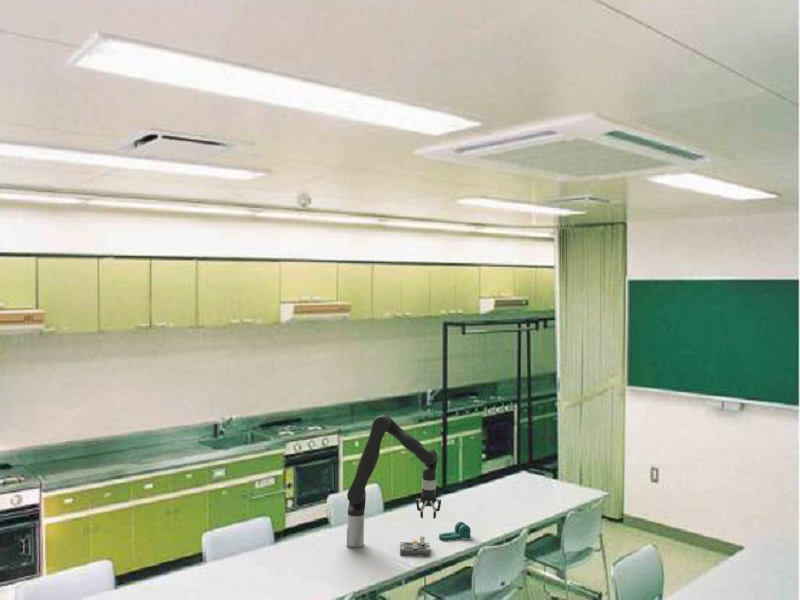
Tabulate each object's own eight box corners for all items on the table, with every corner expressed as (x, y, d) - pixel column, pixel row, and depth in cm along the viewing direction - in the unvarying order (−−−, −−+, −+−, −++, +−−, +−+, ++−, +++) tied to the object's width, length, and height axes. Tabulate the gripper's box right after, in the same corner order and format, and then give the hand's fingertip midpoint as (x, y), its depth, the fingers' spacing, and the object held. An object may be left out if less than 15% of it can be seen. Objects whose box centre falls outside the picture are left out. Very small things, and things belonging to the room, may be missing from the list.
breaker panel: (400, 555, 370) (400, 549, 370) (400, 547, 381) (400, 541, 381) (429, 556, 370) (430, 550, 370) (429, 548, 381) (429, 542, 381)
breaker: (420, 544, 377) (420, 537, 377) (419, 542, 380) (420, 535, 380) (424, 544, 377) (424, 537, 377) (424, 542, 380) (424, 535, 380)
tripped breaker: (412, 548, 371) (413, 541, 371) (412, 546, 374) (413, 539, 374) (417, 548, 371) (417, 541, 371) (417, 546, 374) (417, 539, 374)
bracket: (465, 534, 405) (465, 521, 404) (470, 538, 398) (470, 524, 398) (437, 537, 398) (437, 524, 398) (442, 542, 392) (442, 528, 391)
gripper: (415, 489, 368) (414, 520, 369) (442, 489, 368) (441, 521, 369) (415, 485, 376) (414, 515, 376) (441, 485, 376) (441, 516, 376)
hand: (428, 518), depth 372 cm, fingers open, 5 cm apart
